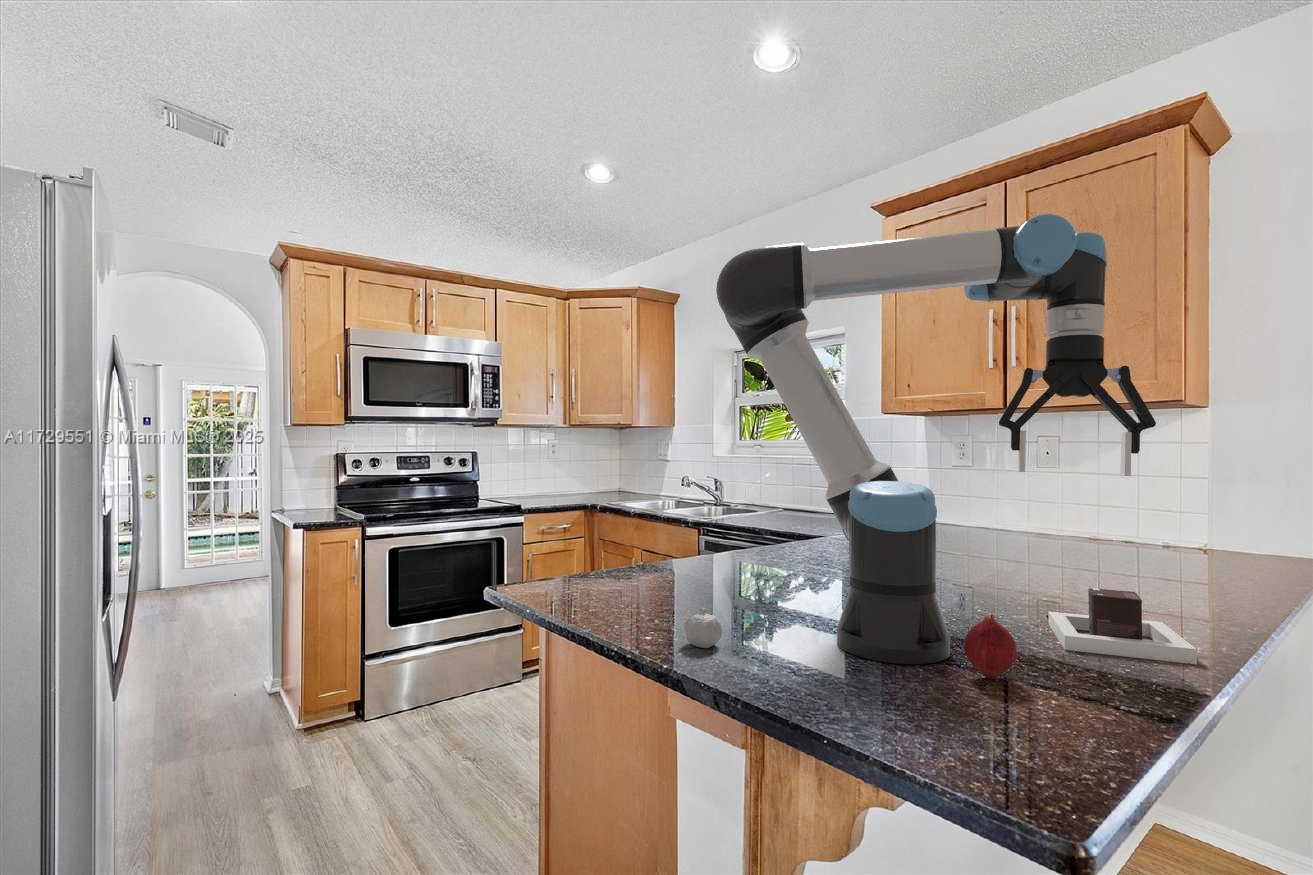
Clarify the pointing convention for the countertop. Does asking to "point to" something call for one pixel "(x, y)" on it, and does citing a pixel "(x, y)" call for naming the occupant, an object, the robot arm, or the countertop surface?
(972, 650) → the onion
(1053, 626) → the hole plate
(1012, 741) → the countertop surface
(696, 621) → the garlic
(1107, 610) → the box
